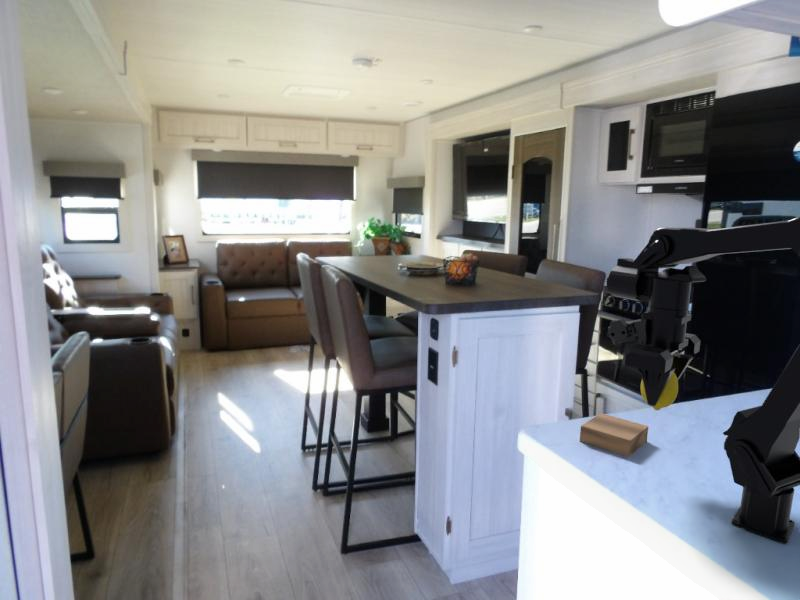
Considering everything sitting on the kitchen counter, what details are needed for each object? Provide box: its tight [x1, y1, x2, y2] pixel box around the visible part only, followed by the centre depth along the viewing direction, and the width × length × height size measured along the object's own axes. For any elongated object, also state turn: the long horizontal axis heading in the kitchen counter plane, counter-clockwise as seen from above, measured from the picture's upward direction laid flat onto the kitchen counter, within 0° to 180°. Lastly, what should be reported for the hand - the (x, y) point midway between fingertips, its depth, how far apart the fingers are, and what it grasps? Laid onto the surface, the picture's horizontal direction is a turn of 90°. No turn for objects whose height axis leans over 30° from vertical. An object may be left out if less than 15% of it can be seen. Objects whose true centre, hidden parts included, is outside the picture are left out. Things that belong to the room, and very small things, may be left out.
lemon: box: [640, 372, 679, 411], centre depth 90 cm, size 6×6×8 cm
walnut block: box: [579, 412, 649, 457], centre depth 103 cm, size 9×9×3 cm
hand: (657, 400), depth 91 cm, fingers closed on lemon, 5 cm apart
